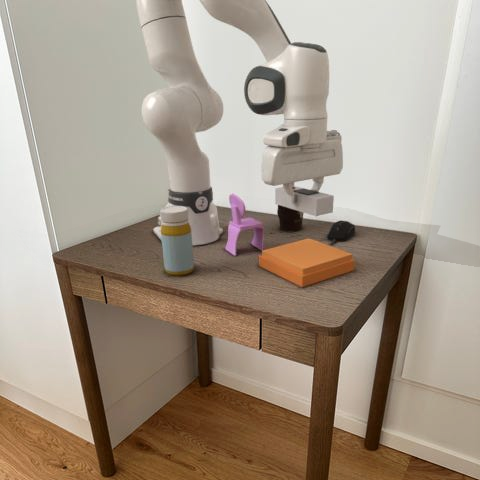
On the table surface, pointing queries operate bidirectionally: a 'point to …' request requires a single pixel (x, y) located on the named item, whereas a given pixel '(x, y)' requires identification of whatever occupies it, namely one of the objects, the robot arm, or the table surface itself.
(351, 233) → the gaming mouse
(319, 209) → the remote
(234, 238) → the toy chair
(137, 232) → the table surface
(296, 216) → the black cup
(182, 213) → the bottle
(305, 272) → the folded cloth
